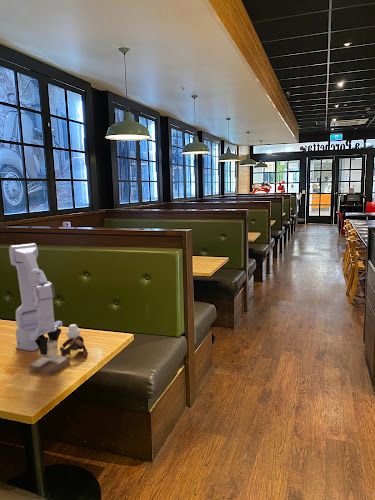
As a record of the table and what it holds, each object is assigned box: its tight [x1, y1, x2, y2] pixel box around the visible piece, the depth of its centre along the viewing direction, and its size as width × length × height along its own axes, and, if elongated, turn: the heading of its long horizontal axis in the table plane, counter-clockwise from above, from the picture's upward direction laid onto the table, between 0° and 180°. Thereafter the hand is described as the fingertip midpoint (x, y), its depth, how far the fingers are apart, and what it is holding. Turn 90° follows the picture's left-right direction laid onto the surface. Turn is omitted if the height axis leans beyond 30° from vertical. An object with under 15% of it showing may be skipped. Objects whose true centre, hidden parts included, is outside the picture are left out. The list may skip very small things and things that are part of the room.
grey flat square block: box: [29, 354, 71, 377], centre depth 141 cm, size 10×10×3 cm
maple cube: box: [38, 338, 59, 358], centre depth 139 cm, size 4×4×5 cm
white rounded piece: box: [65, 323, 81, 339], centre depth 165 cm, size 6×6×7 cm
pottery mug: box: [59, 335, 88, 358], centre depth 151 cm, size 12×10×8 cm
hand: (48, 351), depth 140 cm, fingers closed on maple cube, 4 cm apart
